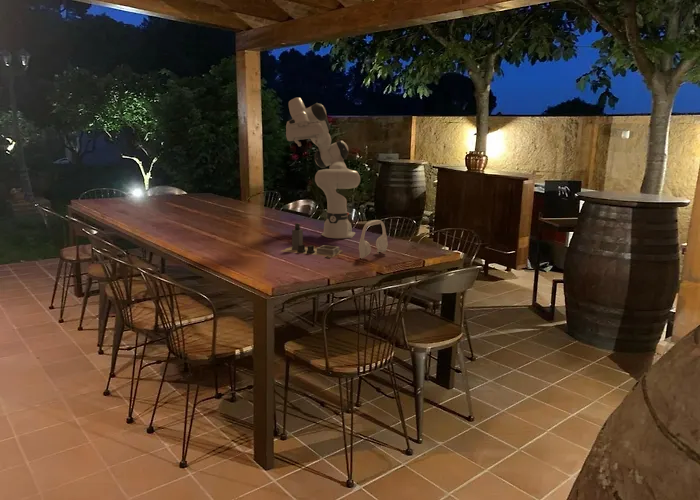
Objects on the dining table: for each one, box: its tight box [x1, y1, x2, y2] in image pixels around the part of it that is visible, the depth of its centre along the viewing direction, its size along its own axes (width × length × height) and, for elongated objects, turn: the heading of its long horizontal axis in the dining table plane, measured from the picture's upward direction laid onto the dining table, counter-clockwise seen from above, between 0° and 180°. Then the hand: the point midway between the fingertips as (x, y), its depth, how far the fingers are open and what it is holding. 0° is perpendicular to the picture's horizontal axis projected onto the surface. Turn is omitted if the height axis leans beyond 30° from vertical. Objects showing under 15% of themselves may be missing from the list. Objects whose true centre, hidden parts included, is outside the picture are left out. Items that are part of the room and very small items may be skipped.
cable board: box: [281, 244, 344, 259], centre depth 279 cm, size 16×27×5 cm, turn 69°
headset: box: [358, 219, 389, 259], centre depth 273 cm, size 20×7×18 cm, turn 143°
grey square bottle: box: [291, 223, 304, 250], centre depth 280 cm, size 4×4×13 cm
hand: (308, 144), depth 294 cm, fingers open, 8 cm apart
